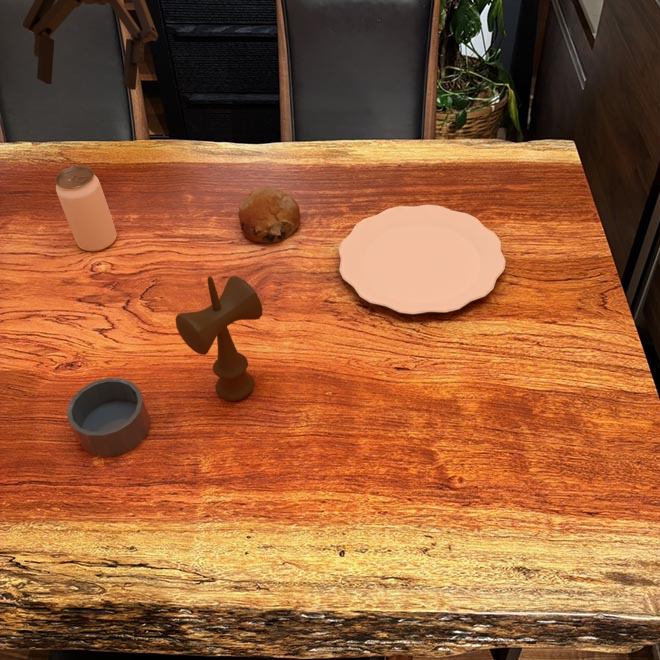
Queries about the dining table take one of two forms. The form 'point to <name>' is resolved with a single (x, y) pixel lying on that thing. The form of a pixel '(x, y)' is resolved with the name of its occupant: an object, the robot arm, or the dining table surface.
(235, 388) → the kendama
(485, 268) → the plate
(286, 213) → the bread roll
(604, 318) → the dining table surface
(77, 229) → the can
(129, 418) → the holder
